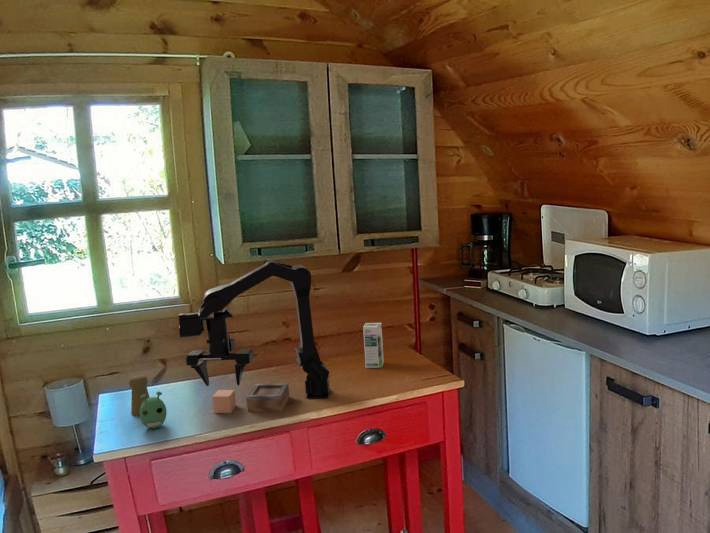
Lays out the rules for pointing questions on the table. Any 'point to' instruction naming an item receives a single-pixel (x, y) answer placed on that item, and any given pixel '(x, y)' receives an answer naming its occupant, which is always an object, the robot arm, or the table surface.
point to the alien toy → (153, 411)
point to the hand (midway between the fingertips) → (223, 385)
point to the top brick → (224, 401)
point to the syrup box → (373, 345)
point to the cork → (138, 392)
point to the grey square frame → (268, 397)
